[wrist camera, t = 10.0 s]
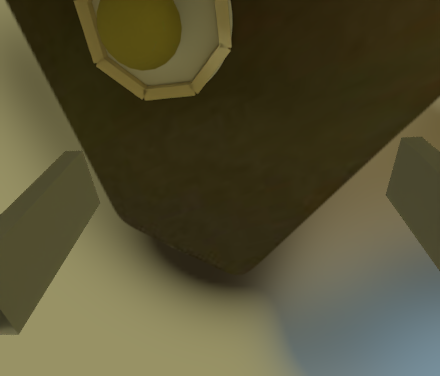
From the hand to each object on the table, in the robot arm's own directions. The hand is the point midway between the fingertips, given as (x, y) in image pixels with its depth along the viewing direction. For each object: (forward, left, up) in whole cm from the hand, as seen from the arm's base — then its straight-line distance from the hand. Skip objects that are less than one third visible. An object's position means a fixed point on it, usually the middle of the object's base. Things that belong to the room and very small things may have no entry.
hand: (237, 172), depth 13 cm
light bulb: (-5, -7, -23) cm, 25 cm away
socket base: (-4, -8, -24) cm, 26 cm away
